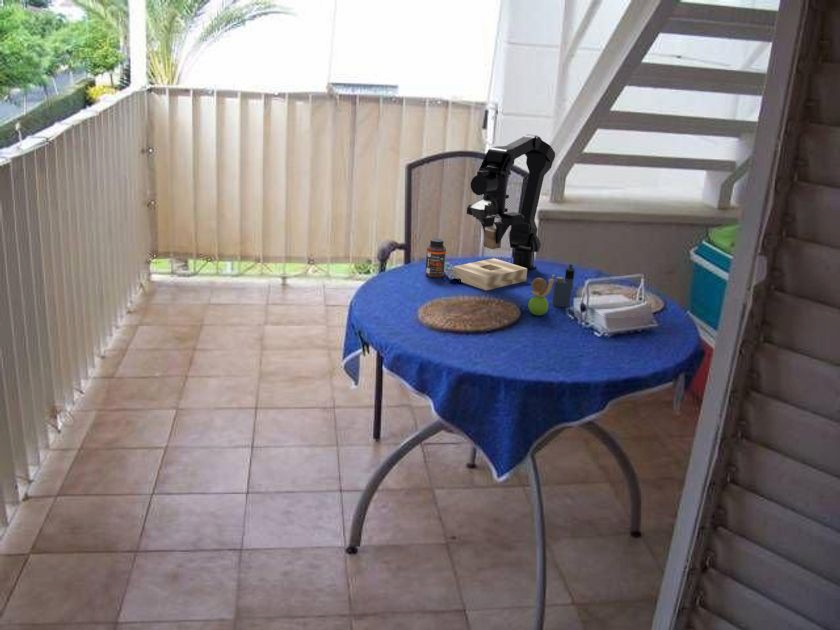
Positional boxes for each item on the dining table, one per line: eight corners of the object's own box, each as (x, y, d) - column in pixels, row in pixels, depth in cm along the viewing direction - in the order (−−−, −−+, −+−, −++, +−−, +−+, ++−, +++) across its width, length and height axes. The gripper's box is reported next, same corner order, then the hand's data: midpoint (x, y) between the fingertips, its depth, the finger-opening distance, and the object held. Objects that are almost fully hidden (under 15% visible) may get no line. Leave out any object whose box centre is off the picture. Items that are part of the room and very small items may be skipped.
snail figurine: (545, 320, 221) (550, 277, 217) (524, 315, 224) (528, 272, 220) (554, 315, 225) (558, 273, 222) (532, 310, 229) (536, 268, 225)
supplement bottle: (427, 278, 253) (429, 242, 250) (423, 272, 259) (424, 237, 255) (446, 277, 255) (448, 242, 251) (441, 272, 260) (443, 237, 256)
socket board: (493, 270, 265) (494, 258, 264) (526, 280, 256) (527, 268, 254) (452, 278, 254) (453, 266, 252) (485, 290, 244) (486, 277, 243)
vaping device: (571, 307, 233) (576, 266, 229) (552, 306, 233) (557, 265, 229) (570, 304, 235) (574, 263, 231) (551, 303, 235) (555, 262, 231)
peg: (491, 245, 254) (493, 225, 252) (500, 247, 251) (502, 228, 249) (483, 246, 251) (485, 226, 249) (492, 249, 249) (493, 229, 247)
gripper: (455, 188, 247) (452, 239, 252) (501, 199, 234) (496, 252, 239) (481, 185, 254) (477, 234, 259) (527, 195, 241) (522, 247, 246)
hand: (492, 242), depth 251 cm, fingers closed on peg, 4 cm apart
